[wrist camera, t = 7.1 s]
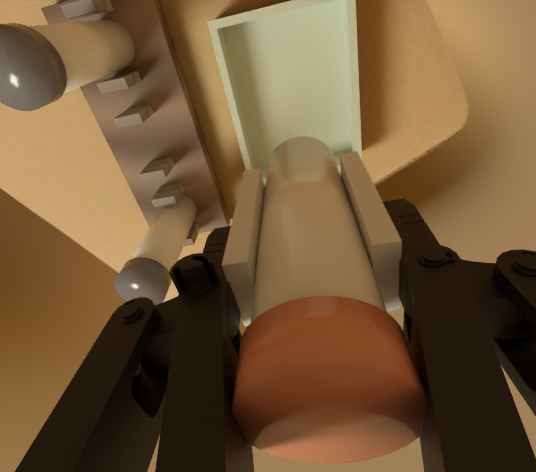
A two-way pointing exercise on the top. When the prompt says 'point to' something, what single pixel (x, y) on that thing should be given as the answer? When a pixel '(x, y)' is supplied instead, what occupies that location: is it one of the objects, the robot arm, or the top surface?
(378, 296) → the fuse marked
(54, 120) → the top surface
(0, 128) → the top surface
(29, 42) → the fuse
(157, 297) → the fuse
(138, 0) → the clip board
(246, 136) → the tray
